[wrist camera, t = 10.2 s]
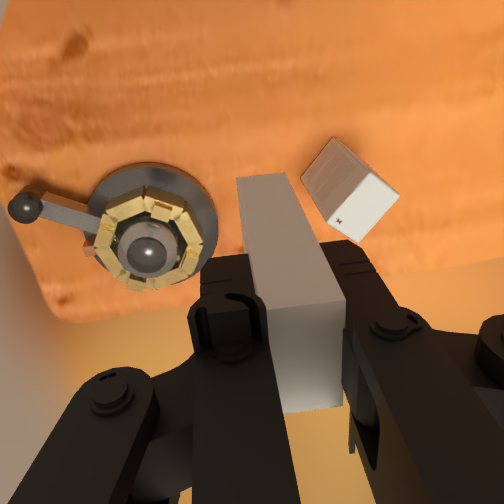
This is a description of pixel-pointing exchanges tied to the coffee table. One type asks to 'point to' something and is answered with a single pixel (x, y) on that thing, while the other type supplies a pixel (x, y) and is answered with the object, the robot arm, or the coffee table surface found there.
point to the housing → (154, 220)
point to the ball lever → (105, 223)
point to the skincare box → (347, 190)
